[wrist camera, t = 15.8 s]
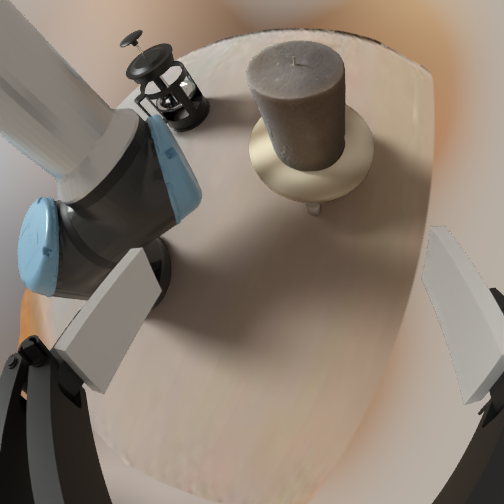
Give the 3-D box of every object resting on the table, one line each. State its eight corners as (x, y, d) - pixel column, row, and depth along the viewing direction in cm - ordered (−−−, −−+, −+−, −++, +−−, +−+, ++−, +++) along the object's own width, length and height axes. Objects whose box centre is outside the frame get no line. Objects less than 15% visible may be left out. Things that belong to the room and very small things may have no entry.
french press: (196, 90, 53) (145, 15, 31) (221, 105, 50) (169, 19, 28) (156, 125, 53) (91, 59, 32) (177, 145, 50) (106, 69, 29)
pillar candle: (359, 145, 33) (367, 58, 18) (303, 187, 33) (284, 105, 19) (311, 104, 36) (296, 21, 22) (258, 140, 37) (221, 61, 22)
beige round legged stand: (241, 169, 45) (225, 144, 38) (313, 111, 44) (309, 80, 37) (312, 242, 40) (309, 226, 32) (388, 171, 39) (398, 144, 31)
